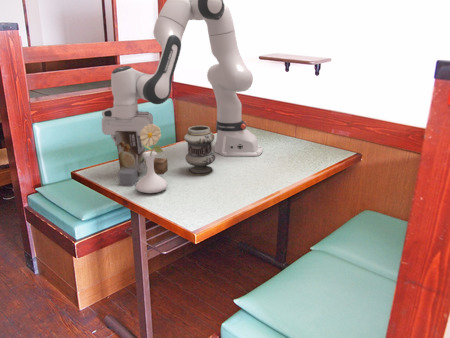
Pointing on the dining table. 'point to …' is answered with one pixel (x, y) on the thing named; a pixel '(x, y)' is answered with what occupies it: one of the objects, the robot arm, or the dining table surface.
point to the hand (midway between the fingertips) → (129, 146)
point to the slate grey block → (128, 177)
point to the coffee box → (130, 150)
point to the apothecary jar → (199, 149)
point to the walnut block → (160, 165)
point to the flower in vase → (151, 161)
